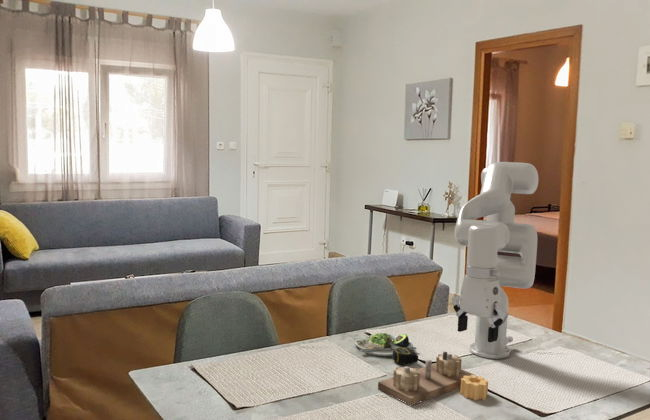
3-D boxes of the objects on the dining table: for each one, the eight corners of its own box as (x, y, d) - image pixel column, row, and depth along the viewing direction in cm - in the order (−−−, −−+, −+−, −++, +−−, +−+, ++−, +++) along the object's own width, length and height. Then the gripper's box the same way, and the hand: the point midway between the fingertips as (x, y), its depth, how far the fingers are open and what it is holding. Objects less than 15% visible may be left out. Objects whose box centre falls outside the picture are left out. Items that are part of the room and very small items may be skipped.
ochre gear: (471, 386, 160) (472, 372, 159) (492, 395, 154) (493, 381, 154) (455, 392, 155) (456, 378, 155) (476, 402, 150) (477, 387, 150)
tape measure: (418, 365, 174) (419, 353, 174) (398, 367, 172) (398, 355, 171) (408, 357, 180) (409, 345, 180) (388, 359, 178) (389, 347, 178)
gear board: (442, 367, 172) (443, 341, 171) (475, 381, 163) (476, 354, 162) (377, 389, 156) (379, 360, 155) (410, 405, 147) (411, 375, 146)
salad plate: (377, 365, 174) (378, 350, 174) (341, 347, 188) (341, 333, 188) (422, 352, 186) (423, 338, 185) (385, 336, 200) (385, 323, 199)
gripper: (518, 277, 146) (513, 342, 148) (463, 264, 160) (460, 324, 162) (500, 281, 142) (496, 348, 144) (445, 267, 155) (442, 329, 157)
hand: (477, 335), depth 153 cm, fingers open, 9 cm apart
